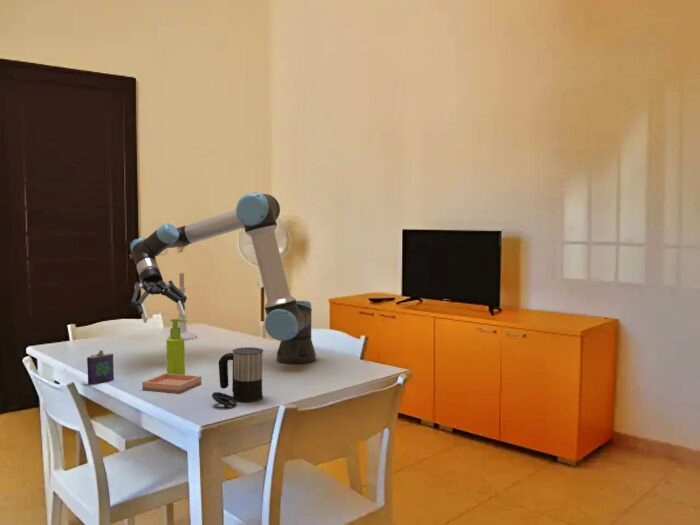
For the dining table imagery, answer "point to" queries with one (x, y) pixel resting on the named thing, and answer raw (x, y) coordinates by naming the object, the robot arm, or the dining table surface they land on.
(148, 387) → the holder dish
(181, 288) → the candlestick
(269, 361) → the dining table surface
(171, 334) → the soap dispenser
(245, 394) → the milk frother
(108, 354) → the flask
